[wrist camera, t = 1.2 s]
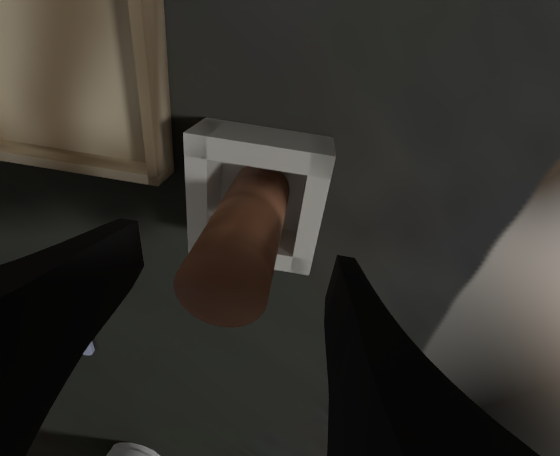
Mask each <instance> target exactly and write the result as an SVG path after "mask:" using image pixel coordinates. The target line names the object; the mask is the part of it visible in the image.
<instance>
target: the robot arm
mask: <svg viewBox="0 0 560 456" xmlns="http://www.w3.org/2000/svg"><path fill="white" fill-rule="evenodd" d="M143 267H144V262H143V255H142V248H141V241H140V234H139V228H138V221H133V220H127V219H118V220H115V221H112V222H110V223H107V224H105V225H102V226H100V227H97V228H95V229H92V230H90V231H88V232H85V233H83V234H81V235H78V236H76V237H73V238H71V239H69V240H66V241H64V242H62V243H59V244H57V245H54V246H51V247H49V248H46V249H43V250H41V251H38V252H36V253H33V254H30V255H28V256H25V257H23V258H20V259H17V260H14V261H11V262H8V263H5V264H2V265H0V456H26V454H27V452H28V450H29V448H30V446H31V444H32V442H33V440H34V438H35V436H36V434H37V433H38V431H39V429H40V427H41V425H42V423H43V421H44V419H45V418H46V416H47V414H48V412H49V410H50V408H51V407H52V405H53V403H54V401H55V400H56V398H57V396H58V395H59V393H60V391H61V389H62V388H63V386H64V384H65V382H66V381H67V379H68V377H69V376H70V374H71V373H72V371H73V369H74V368H75V366H76V364H77V363H78V361H79V360H80V358H81V356H82V355H92V354H93V352H94V351H95V349H94V346H93V343H92V340H93V339H94V338H95V336H96V335H97V334H98V332H99V331H100V330H101V328H102V327H103V326H104V325H105V323H106V322H107V321H108V319H109V318H110V317H111V315H112V314H113V313H114V311H115V310H116V309H117V308H118V306H119V305H120V304H121V302H122V301H123V299H124V298H125V297H126V295H127V294H128V293H129V291H130V290H131V289H132V287H133V285H134V283H135V282H136V280H137V278H138V276H139V274H140V273H141V271H142V269H143ZM324 328H325V343H326V357H327V371H328V385H329V417H328V451H327V456H540V455H538V454H537V453H536V452H535V451H533V450H532V449H531V448H530V447H528V446H527V445H526V444H524V443H523V442H522V441H520V440H519V439H518V438H517V437H515V436H514V435H513V434H512V433H510V432H509V431H508V430H506V429H505V428H504V427H503V426H501V425H500V424H499V423H498V422H496V421H495V420H494V419H493V418H491V417H490V416H489V415H488V414H487V413H486V412H485V411H483V410H482V409H481V408H480V407H479V406H478V405H477V404H475V403H474V402H473V401H472V400H471V399H469V397H467V396H466V395H465V394H464V393H463V392H462V391H461V390H460V389H458V387H457V386H455V385H454V384H453V383H452V382H451V381H450V380H449V379H448V378H447V377H446V376H445V375H444V374H443V373H442V372H441V371H440V370H439V369H438V368H437V367H436V366H435V365H434V364H433V363H432V362H431V361H430V360H429V359H428V358H427V357H426V356H425V355H424V354H423V352H422V351H421V350H420V349H419V348H418V347H417V346H416V345H415V343H414V342H413V341H412V340H411V339H410V338H409V337H408V335H407V334H406V333H405V332H404V331H403V329H402V328H401V327H400V326H399V324H398V323H397V322H396V320H395V319H394V318H393V316H392V315H391V314H390V312H389V311H388V310H387V308H386V307H385V305H384V304H383V302H382V301H381V299H380V298H379V296H378V295H377V293H376V292H375V290H374V289H373V287H372V286H371V284H370V282H369V281H368V279H367V277H366V276H365V274H364V272H363V271H362V269H361V267H360V266H359V264H358V262H357V261H356V259H355V258H352V257H346V256H340V255H337V258H336V261H335V265H334V269H333V272H332V276H331V279H330V283H329V286H328V290H327V294H326V297H325V316H324Z"/></svg>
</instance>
